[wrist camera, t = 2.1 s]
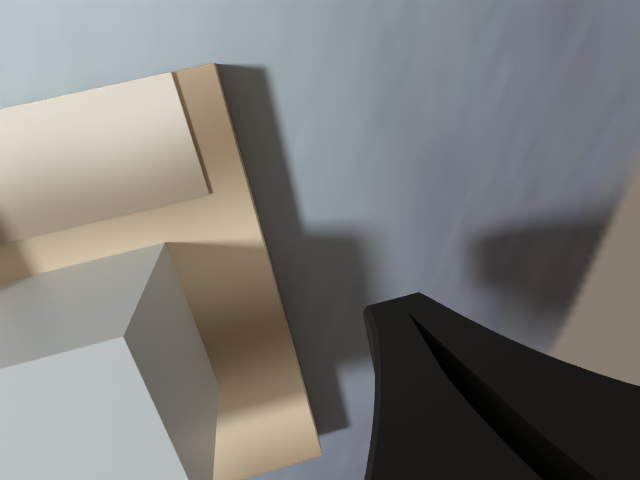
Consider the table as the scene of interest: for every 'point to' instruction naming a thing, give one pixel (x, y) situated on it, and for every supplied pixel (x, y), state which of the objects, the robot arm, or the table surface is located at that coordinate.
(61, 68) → the table surface
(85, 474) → the light grey block
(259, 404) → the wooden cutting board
